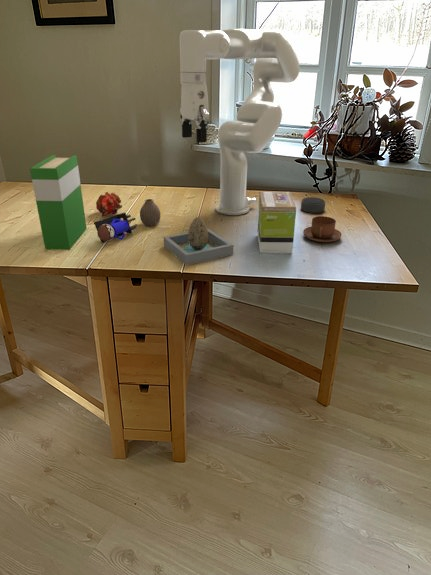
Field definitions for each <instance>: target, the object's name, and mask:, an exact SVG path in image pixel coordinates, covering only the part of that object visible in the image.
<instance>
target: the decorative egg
mask: <svg viewBox="0 0 431 575" xmlns="http://www.w3.org/2000/svg"><path fill="white" fill-rule="evenodd" d="M188 232H189V233H188V241H189V243H188V245H190V246H191V247H192V248H194V249H196V250H201V249H203V248H204V247H205V246H206V245H208V242H209V241H208V231H207V225H206V222H205V221H204V220H203V219H202V218H201V217H199V216H196V217H195V218H194V219H193V220H192V221H191V223H190V226H189V229H188Z"/></svg>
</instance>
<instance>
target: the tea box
mask: <svg viewBox="0 0 431 575" xmlns="http://www.w3.org/2000/svg"><path fill="white" fill-rule="evenodd" d="M296 216H297V206H296V203H295V201H294V198H293V197H292V193H291V191H259V194H258V216H257V218H258V219H257V241H258V248H259V253H260V254H293V248H294V239H295V238H294V237H295V227H296Z"/></svg>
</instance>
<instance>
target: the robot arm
mask: <svg viewBox="0 0 431 575" xmlns="http://www.w3.org/2000/svg"><path fill="white" fill-rule="evenodd" d="M222 59H224V60H248V59H249V60H250V59H252V60H253V59H256V60H255V62H254V64H253V70H252V73H253V74H252V75H253V87H252V91H251V92H250V93H249V95H248V96H247V98H246V99H245V100H244V102H243V103H242V105H240V107H239V109H238V110H237V113H236V120H227V121H225V122H223V123H222V124H221V125H220V126H219V129H218V131H217V132H218V133H217V138H218V144H219V151H220V152H219V153H220V178H219V179H220V180H219V182H220V184H219V185H220V188H219V191H220V192H219V193H220V194H219V203H218V204H217V205H216V206H215V211H216V212H217V213H219V214H222V215H225V216H226V215H227V216H240V215H245V214H247V213H249V212H250V206H249V205H250V204H255V203H257V198H256V197H249V196H247V177H248V176H247V175H248V174H247V173H248V160H247V157H246V154H245V153H248V154H249V153H250V154H251V153H252V154H258V153H260V152H262V151H263V150H265V148H266V146H267V145H268V143H269V142H270V141H271V140H272V138H273V136H274V135H275V133H276V132H277V131H278V129H279V127H280V126H281V122H282V120H283V119H282V117H283V111H282V108H281V106H280V104H279V103H277V102H276V101H274V100H275V95H274V91H273V88H272V86H271V83H273V82H274V83H288V84H289V83H292V82H294V81H296V80H297V78H298V76H299V73H300V62H299V59H298V55H297V53H296V51H295V49H294V47H293V44H292V42H291V41H290V38H289V36H288V35H287V34H286V32H285V31H283V30H282V29H280V28H274V29H273V28H272V29H271V28H269V29H267V28H266V29H260V28H259V29H256V28H255V29H253V28H252V29H251V28H250V29H249V28H229V29H221V30H217V29H215V30H214V29H213V30H212V29H211V30H208V29H206V30H205V29H203V30H202V29H201V30H200V29H197V30H196V29H185V30H182V31H181V32H180V34H179V64H180V65H179V69H180V71H179V72H180V76H179V77H180V85H181V89H180V90H181V91H180V107H179V113H180V116H179V117H180V119H181V121H180V123H181V137H182V138H183V139H184V138H185V139H187V138H192V136H193V132H192V131H193V124H192V123H191V122H195V124H196V126H197V128H196V137H195V138H196V143H197V144H198V143H206V142H207V139H208V138H207V134H208V133H207V132H208V131H207V129H208V124H209V119H210V112H209V108H210V107H209V96H208V95H209V94H208V87H207V60H222Z"/></svg>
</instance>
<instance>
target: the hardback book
mask: <svg viewBox="0 0 431 575" xmlns="http://www.w3.org/2000/svg"><path fill="white" fill-rule="evenodd" d="M79 170H80V169H79V162H78V156H77V155H75V154H74V155H72V156H71V157H57V155H56V154H52V155H50V156H48V157H47V158H45V159H43V160H42V161H40V162H37V164H36V165H33V166H32V167H30V168H29V171H30V177H31V181H32V187H33V191H34V198H35V203H36V208H37V213H38V218H39V224H40V228H41V233H42V239H43V245H44V249H45V250H47V251H48V250H53V251H55V250H57V251H70V250H71V249H72V248H74V245H75V244H77V241H78V240H79V239H80V238H81V237H82V235H83V234H84V233H85V232H86V230H87V229H88V228H87V220H86V216H85V214H86V213H85V207H84V199H83V191H82V185H81V177H80V176H81V175H80V171H79Z"/></svg>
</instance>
